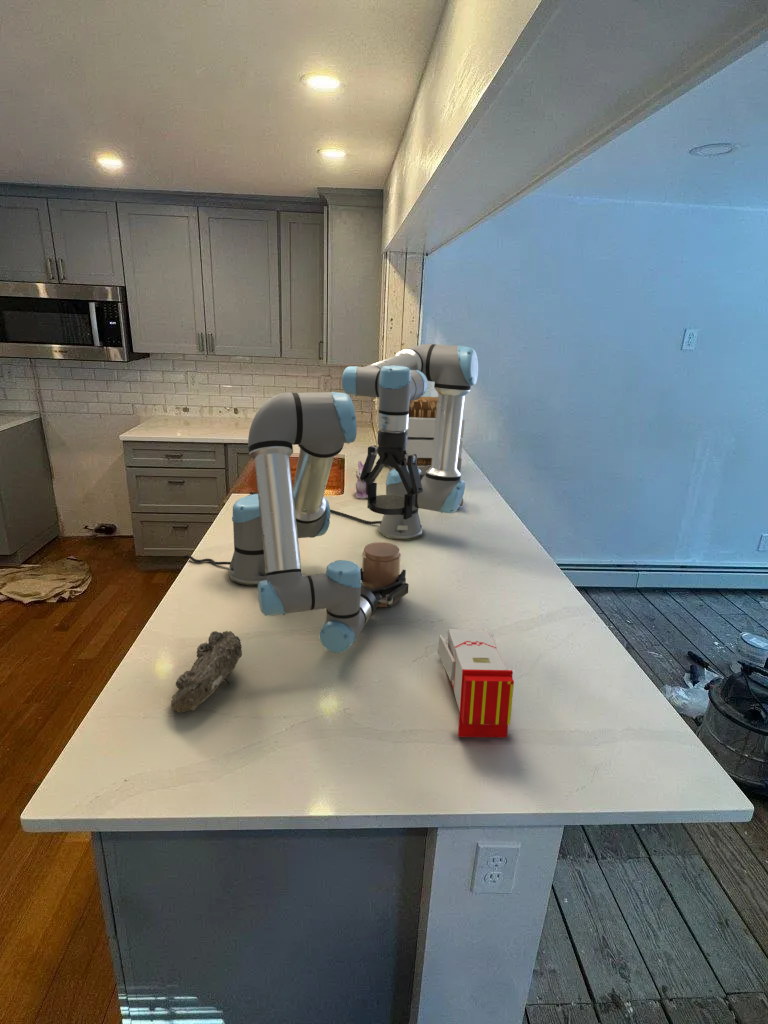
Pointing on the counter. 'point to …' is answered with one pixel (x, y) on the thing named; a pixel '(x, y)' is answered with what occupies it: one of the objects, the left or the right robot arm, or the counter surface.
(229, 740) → the counter surface
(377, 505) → the lid
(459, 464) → the white crate
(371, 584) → the jar
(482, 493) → the counter surface
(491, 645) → the toy
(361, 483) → the figurine
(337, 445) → the left robot arm
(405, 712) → the counter surface
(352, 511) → the counter surface
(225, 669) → the fossil
